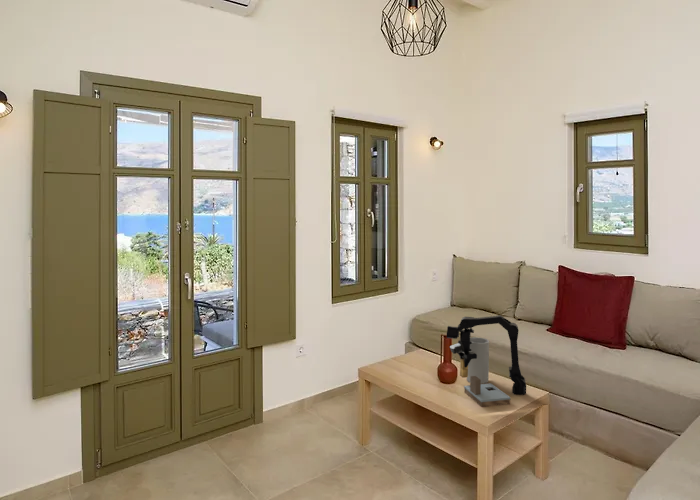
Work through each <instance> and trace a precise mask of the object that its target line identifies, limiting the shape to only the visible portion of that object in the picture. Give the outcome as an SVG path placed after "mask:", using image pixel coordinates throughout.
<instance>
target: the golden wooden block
mask: <svg viewBox="0 0 700 500" xmlns="http://www.w3.org/2000/svg"><path fill="white" fill-rule="evenodd" d="M459 363H460V366H459V367H460V368H459V371H460V372H459V376H460V377H461V378H467V377H468V366H467V367H465V366H464V358H463V359H461V360H460V361H459Z"/></svg>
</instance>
